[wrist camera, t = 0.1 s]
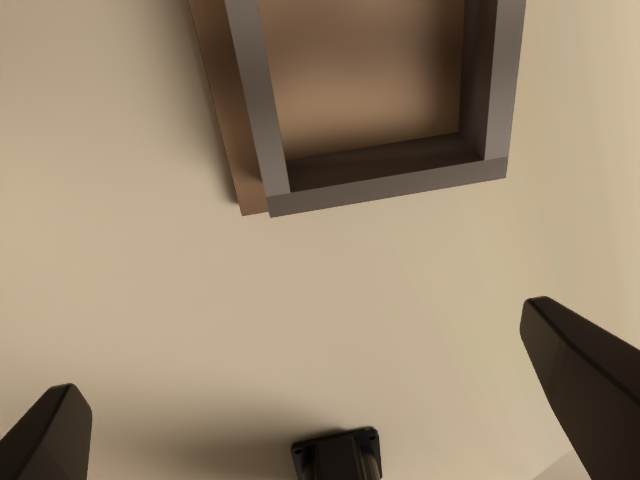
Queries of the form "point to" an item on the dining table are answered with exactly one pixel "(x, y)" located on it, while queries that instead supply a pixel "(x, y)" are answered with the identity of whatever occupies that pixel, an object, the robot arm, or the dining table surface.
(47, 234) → the dining table surface
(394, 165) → the socket block
